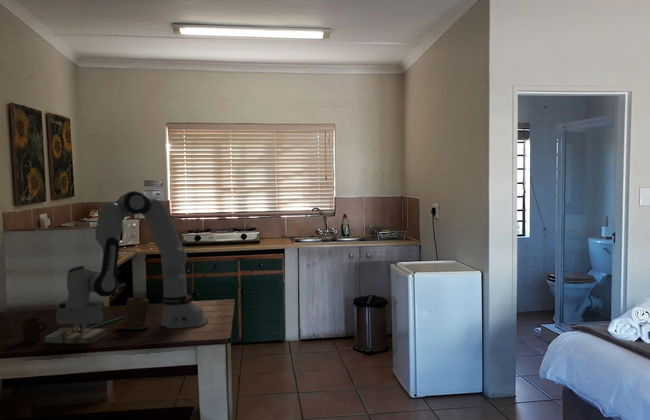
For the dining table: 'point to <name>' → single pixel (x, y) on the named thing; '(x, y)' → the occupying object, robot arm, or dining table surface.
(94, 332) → the board
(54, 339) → the tray
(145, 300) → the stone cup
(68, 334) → the tile
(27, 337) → the mug
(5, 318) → the dining table surface
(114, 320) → the squeegee
